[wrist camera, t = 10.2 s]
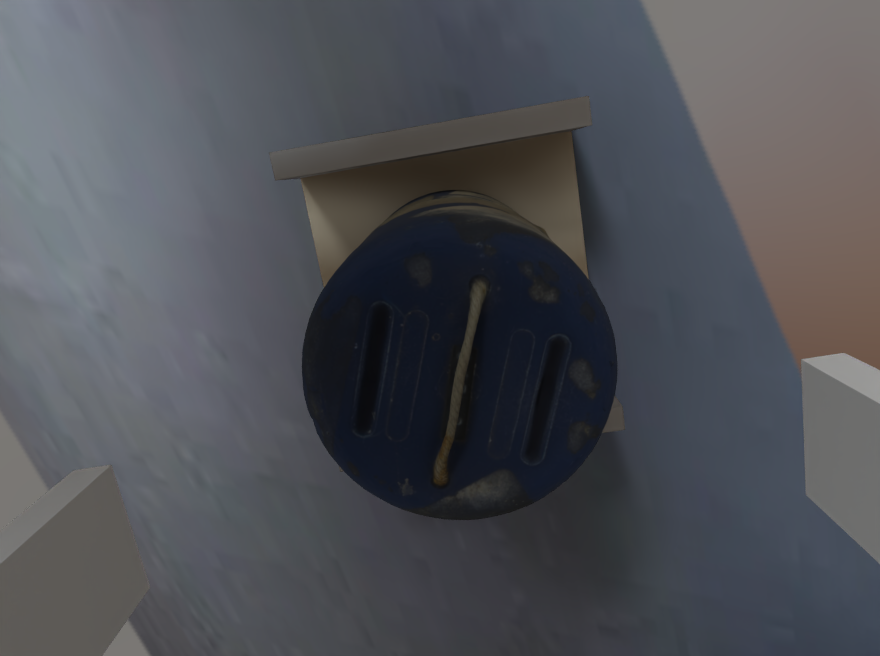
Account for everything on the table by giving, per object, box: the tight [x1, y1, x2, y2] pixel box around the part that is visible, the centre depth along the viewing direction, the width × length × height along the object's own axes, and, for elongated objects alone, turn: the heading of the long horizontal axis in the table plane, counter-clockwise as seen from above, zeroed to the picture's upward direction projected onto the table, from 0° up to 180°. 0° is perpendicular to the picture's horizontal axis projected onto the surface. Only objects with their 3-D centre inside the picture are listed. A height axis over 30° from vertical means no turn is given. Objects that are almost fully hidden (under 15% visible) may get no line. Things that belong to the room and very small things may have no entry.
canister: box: [302, 190, 617, 520], centre depth 26 cm, size 10×10×18 cm
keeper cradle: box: [269, 96, 625, 472], centre depth 33 cm, size 15×14×6 cm
